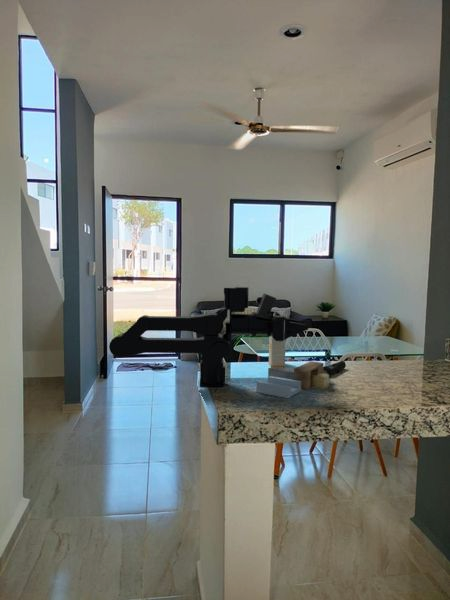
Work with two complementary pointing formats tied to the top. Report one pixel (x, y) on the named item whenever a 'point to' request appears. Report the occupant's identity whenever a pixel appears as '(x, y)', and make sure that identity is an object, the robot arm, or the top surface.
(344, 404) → the top surface
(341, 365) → the electric trimmer
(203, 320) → the robot arm
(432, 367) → the top surface
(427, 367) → the top surface
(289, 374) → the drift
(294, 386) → the cradle
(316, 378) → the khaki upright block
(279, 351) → the supplement box
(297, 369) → the beam
